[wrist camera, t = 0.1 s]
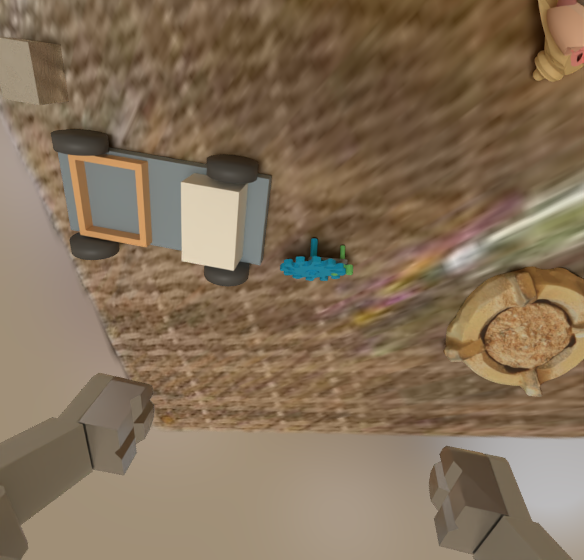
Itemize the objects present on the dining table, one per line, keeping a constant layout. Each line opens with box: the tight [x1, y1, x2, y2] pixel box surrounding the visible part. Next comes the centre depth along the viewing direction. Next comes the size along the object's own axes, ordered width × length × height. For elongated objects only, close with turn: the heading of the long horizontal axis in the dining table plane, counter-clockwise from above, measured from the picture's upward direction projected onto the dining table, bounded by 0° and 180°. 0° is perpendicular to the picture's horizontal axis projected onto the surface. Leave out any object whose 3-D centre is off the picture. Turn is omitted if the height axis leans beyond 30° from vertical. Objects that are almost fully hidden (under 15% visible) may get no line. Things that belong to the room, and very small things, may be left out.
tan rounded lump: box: [533, 0, 584, 82], centre depth 41 cm, size 9×10×10 cm
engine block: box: [0, 37, 69, 105], centre depth 50 cm, size 7×5×6 cm
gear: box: [280, 238, 353, 281], centre depth 58 cm, size 11×6×10 cm
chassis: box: [51, 129, 272, 286], centre depth 57 cm, size 18×32×7 cm, turn 82°
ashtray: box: [444, 267, 584, 397], centre depth 60 cm, size 24×24×5 cm
